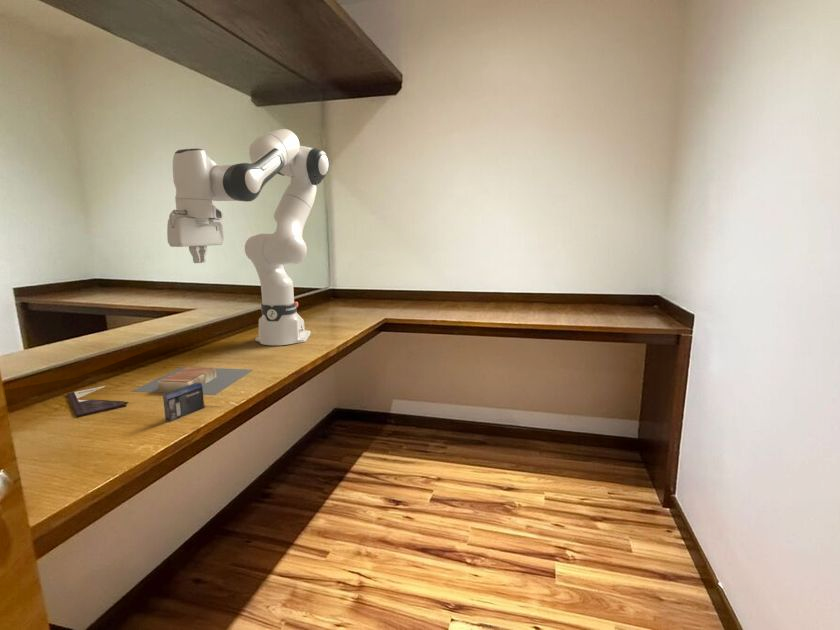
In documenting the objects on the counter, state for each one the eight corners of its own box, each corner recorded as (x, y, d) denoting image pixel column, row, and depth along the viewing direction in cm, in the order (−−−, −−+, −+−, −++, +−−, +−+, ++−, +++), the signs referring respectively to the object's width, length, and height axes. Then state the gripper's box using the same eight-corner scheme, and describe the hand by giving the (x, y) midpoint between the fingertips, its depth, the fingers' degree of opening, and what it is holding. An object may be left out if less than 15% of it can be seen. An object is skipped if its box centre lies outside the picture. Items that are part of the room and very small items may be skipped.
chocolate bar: (76, 415, 93) (67, 393, 106) (77, 419, 94) (67, 397, 106) (126, 404, 99) (111, 384, 112) (126, 408, 100) (111, 388, 112)
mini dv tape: (170, 422, 92) (167, 395, 91) (165, 420, 92) (162, 393, 91) (204, 408, 99) (202, 383, 98) (199, 407, 100) (197, 382, 99)
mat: (182, 368, 127) (181, 366, 127) (254, 371, 125) (253, 369, 125) (130, 393, 107) (130, 391, 107) (215, 397, 105) (215, 394, 105)
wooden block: (187, 366, 118) (157, 380, 107) (215, 367, 118) (188, 382, 106) (188, 375, 119) (158, 391, 107) (216, 377, 118) (189, 392, 106)
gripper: (181, 209, 106) (186, 265, 109) (226, 213, 126) (229, 260, 129) (157, 209, 107) (163, 265, 109) (205, 213, 127) (209, 260, 129)
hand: (199, 262), depth 119 cm, fingers closed
